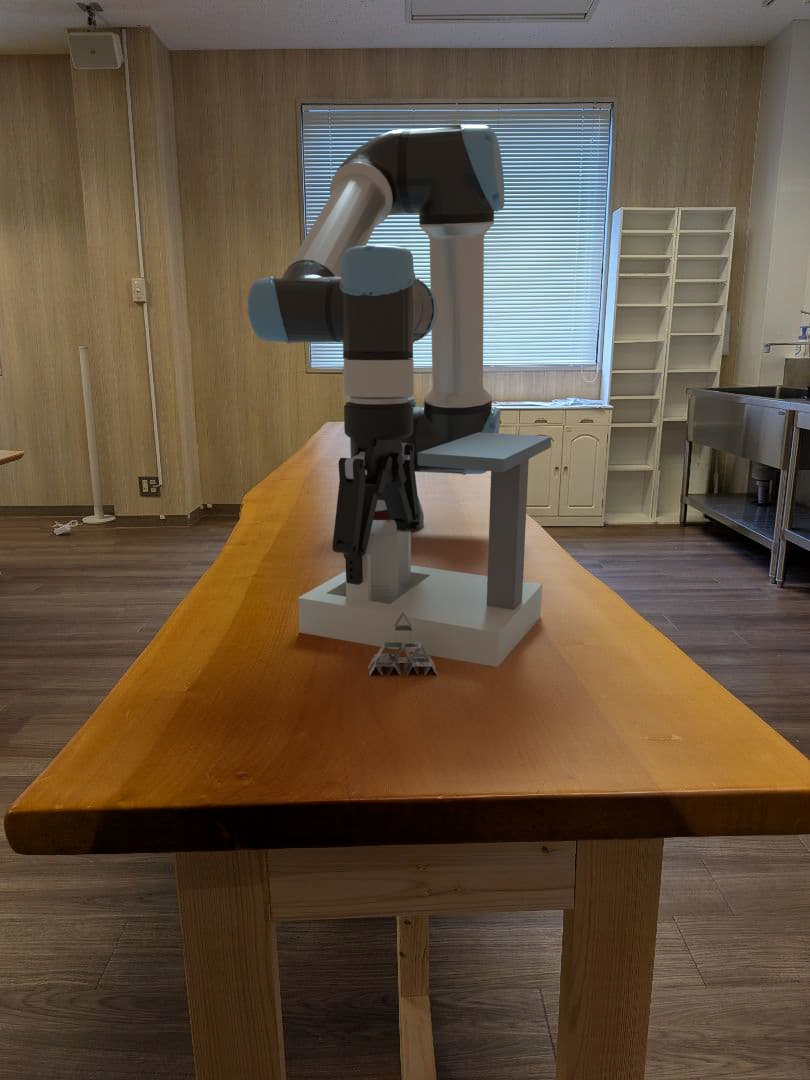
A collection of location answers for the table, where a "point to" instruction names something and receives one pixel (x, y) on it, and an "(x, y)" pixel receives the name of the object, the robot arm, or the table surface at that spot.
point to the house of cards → (394, 660)
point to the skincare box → (384, 561)
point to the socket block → (425, 616)
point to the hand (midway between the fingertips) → (380, 595)
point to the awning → (498, 501)
